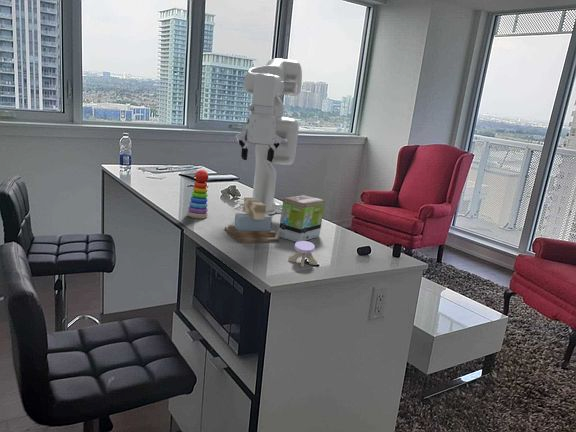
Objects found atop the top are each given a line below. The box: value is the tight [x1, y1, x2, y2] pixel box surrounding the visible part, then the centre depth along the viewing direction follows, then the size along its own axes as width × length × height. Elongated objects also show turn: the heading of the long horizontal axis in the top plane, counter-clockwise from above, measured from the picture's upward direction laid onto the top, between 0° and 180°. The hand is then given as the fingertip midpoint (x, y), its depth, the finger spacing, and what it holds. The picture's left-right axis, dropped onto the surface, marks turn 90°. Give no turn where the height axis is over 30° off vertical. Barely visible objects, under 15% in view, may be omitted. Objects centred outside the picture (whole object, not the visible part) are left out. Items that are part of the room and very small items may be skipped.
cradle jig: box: [224, 224, 281, 243], centre depth 170 cm, size 15×16×2 cm
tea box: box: [277, 194, 326, 243], centre depth 175 cm, size 15×10×15 cm
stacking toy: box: [186, 169, 209, 219], centre depth 186 cm, size 8×8×19 cm
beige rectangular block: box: [242, 197, 266, 219], centre depth 169 cm, size 12×4×5 cm, turn 26°
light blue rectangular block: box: [233, 213, 272, 231], centre depth 170 cm, size 12×4×6 cm, turn 114°
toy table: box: [287, 240, 318, 268], centre depth 147 cm, size 10×9×6 cm
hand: (257, 160), depth 167 cm, fingers open, 9 cm apart
